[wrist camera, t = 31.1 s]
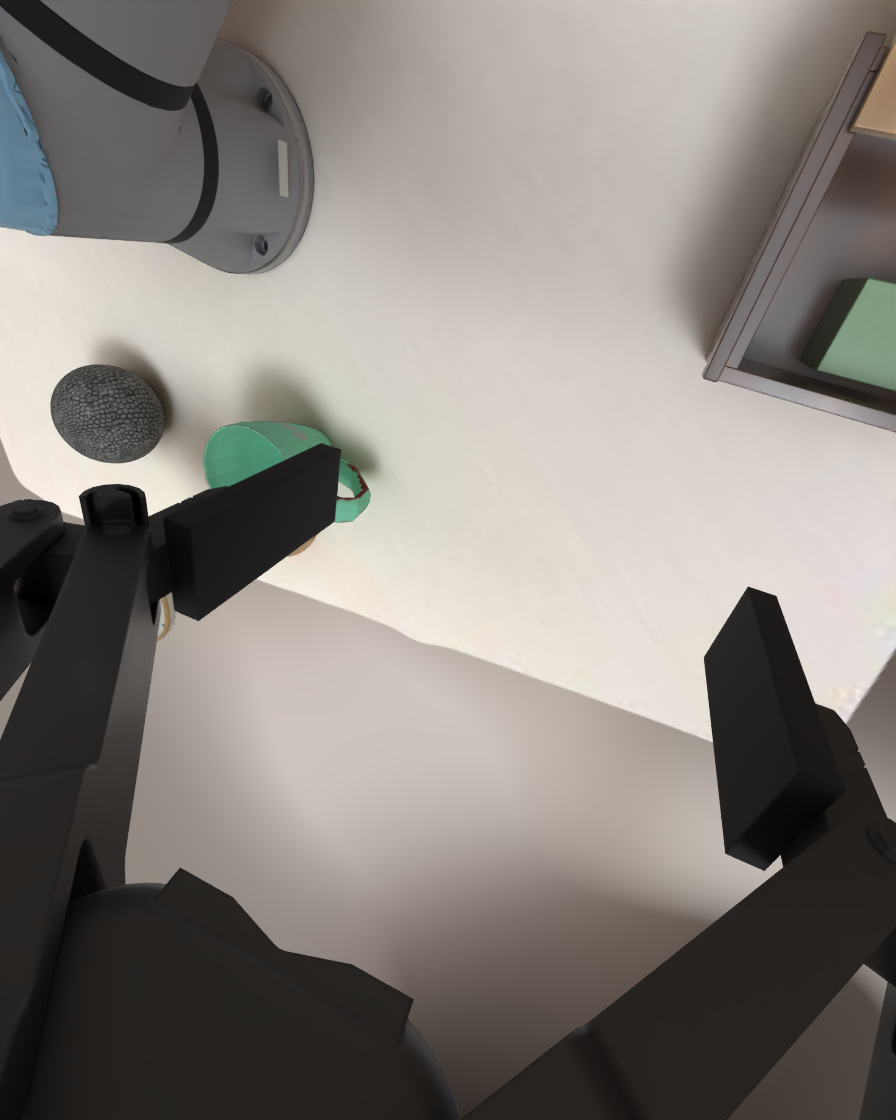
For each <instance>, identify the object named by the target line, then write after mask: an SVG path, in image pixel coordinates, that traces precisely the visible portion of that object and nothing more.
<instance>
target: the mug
mask: <svg viewBox="0 0 896 1120" xmlns="http://www.w3.org/2000/svg"><path fill="white" fill-rule="evenodd" d="M320 443H323V444H326V445H329V446H332V444H331V442H330V441H329V439H328V437H327V436H326V435H324V434H323V433H322V432H321V431H319V430H317V429H314V428H311V427H307V426H303V425H297V424H291V423H283V422H270V421H257V422H240V423H235V424H231V425H227V426H223V427H221V428H219V429H218V430H217V431H216V432H215V433H213V434H212V435H211V436H210V438H209V440H208V443H207V445H206V447H205V452H204V462H203V464H204V469H205V475H206V480H207V482H208V485H209V487H210V489H213V488H218V487H223V486H228V487H229V486H231V485H233V484H235V483H237V482H239V481H242V480H244V479H246V478H248V477H250V476H252V475H254V474H256V473H258V472H261V471H263V470H265V469H267V468H269V467H271V466H273V465H275V464H278V463H280V462H282V461H284V460H286V459H288V458H290V457H292V456H294V455H297V454H299V453H301V452H303V451H305V450H307V449H309V448H311V447H313V446H316V445H318V444H320ZM332 447H333V446H332ZM338 481H340V482H341V483H343V484H344V485H346V486H347V487H348V488H350V489H351V490H352V491H353V493H354V496H355V497H354V498H341V497H338V496H337V503H336V515H335V521H334V522H336V523H340V522H352V521H353V520H354V519H355V518H356V517H358V516H359V515H360V514H361V513H362V512H363V511H364V510H365V509H366V507H367V506H368V504H369V502H370V496H371V494H370V491H369V488H368V486H367V485H366V483H365V481H364V479H363V477H362V476H361V474H360V472H359V470H358V469H357V468H356V467H354V466H353V465H351V464H350V463H348V462H347V461H345V460H344V459H342V458H341V457H340V467H339V479H338Z"/></svg>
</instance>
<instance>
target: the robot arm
mask: <svg viewBox="0 0 896 1120" xmlns="http://www.w3.org/2000/svg"><path fill="white" fill-rule="evenodd" d="M232 2H233V0H0V227H4V228H10V229H16V230H23V231H26V232H28V233H30V234H33V235H36V236H37V235H40V236H45V235H50V236H65V237H80V238H95V239H110V240H125V241H140V242H156V243H167V244H169V245H171V246H173V247H175V248H177V249H179V250H181V251H182V252H184V253H186V254H188V255H190V256H192V257H194V258H196V259H198V260H199V261H201V262H203V263H205V264H207V265H209V266H211V267H213V268H216V269H218V270H221V271H224V272H228V273H235V274H258V273H263V272H266V271H269V270H271V269H273V268H275V267H277V266H278V265H280V264H281V263H282V262H283V261H284V260H286V259H287V258H288V256H289V255H290V254H291V253H292V252H293V250H294V249H295V248H296V246H297V244H298V243H299V241H300V239H301V237H302V235H303V233H304V230H305V227H306V225H307V222H308V218H309V214H310V209H311V204H312V195H313V164H312V155H311V150H310V144H309V140H308V136H307V132H306V129H305V126H304V123H303V120H302V117H301V115H300V112H299V110H298V108H297V106H296V103H295V101H294V99H293V98H292V96H291V94H290V92H289V91H288V89H287V88H286V86H285V85H284V83H283V82H282V81H281V79H280V78H279V77H278V76H277V74H276V73H275V72H274V71H273V70H272V69H271V68H270V67H269V66H268V65H267V64H265V63H264V62H263V61H262V60H260V59H259V58H258V57H256V56H254V55H253V54H251V53H249V52H247V51H246V50H244V49H242V48H240V47H239V46H237V45H235V44H232V43H230V42H228V41H224V40H220V39H216V38H217V36H218V33H219V31H220V29H221V27H222V24H223V22H224V20H225V18H226V15H227V13H228V11H229V8H230V6H231V4H232ZM340 456H341V449H338V448H335V447H332V446H329V445H326V444H323V443H320V444H318V445H316V446H313V447H311V448H309V449H307V450H305V451H303V452H301V453H299V454H297V455H294V456H292V457H290V458H288V459H286V460H284V461H282V462H280V463H278V464H275V465H273V466H271V467H269V468H267V469H265V470H263V471H261V472H258V473H256V474H254V475H252V476H250V477H248V478H246V479H244V480H242V481H239V482H237V483H235V484H233V485H231V486H229V487H228V486H223V487H218V488H213V489H208V490H205V491H203V492H201V493H199V494H197V495H194V496H193V498H191V497H190V498H188V499H186V500H184V501H182V502H181V504H180V503H177V504H175V505H173V506H170V507H168V508H166V509H164V510H162V511H160V512H157V513H155V514H153V515H151V516H149V517H148V511H147V504H146V497H145V493H144V492H143V491H142V490H141V489H139V488H137V487H133V486H130V485H122V484H109V485H101V486H97V487H92V488H90V489H88V490H86V491H84V492H83V493H82V494H81V495H80V496H79V499H80V504H81V508H82V513H83V518H84V522H85V526H84V525H78V524H71V523H66V522H63V518H62V515H61V510H60V508H59V506H58V505H56V504H54V503H52V502H48V501H43V500H32V499H28V500H24V501H23V500H18V501H14V502H12V503H8V504H5V505H2V506H0V701H1V700H2V698H3V697H4V696H5V695H6V693H7V692H8V691H9V689H10V688H11V687H12V686H13V684H14V683H15V682H16V681H17V679H18V678H19V677H20V676H21V674H22V673H23V672H24V671H25V669H26V668H27V667H28V666H29V664H30V663H31V665H30V667H29V670H28V672H27V675H26V677H25V680H24V682H23V685H22V687H21V690H20V692H19V695H18V698H17V700H16V703H15V705H14V707H13V710H12V712H11V715H10V717H9V720H8V722H7V725H6V727H5V730H4V732H3V735H2V737H1V740H0V1120H727V1119H728V1118H729V1117H730V1115H731V1114H732V1113H733V1112H734V1111H735V1109H737V1107H738V1106H739V1105H740V1104H741V1103H742V1102H743V1101H744V1099H745V1098H746V1097H747V1096H748V1095H749V1094H750V1092H752V1090H753V1089H754V1088H755V1087H756V1086H757V1085H758V1083H759V1082H760V1081H761V1080H762V1079H763V1078H764V1077H765V1076H766V1074H767V1073H768V1072H769V1071H770V1070H771V1069H772V1068H773V1066H774V1065H775V1064H776V1063H777V1062H778V1061H779V1060H780V1058H781V1057H782V1056H783V1055H784V1054H785V1053H786V1052H787V1050H788V1049H789V1048H790V1047H791V1046H792V1045H793V1044H794V1042H795V1041H796V1040H797V1039H798V1038H799V1037H800V1035H801V1034H802V1033H803V1032H804V1031H805V1030H806V1029H807V1028H808V1027H809V1025H810V1024H811V1023H812V1022H813V1021H814V1020H815V1019H816V1017H817V1016H818V1015H819V1014H820V1013H821V1012H822V1011H823V1009H824V1008H825V1007H826V1006H827V1005H828V1004H829V1003H830V1001H831V1000H832V999H833V998H834V997H835V995H836V994H837V993H838V992H839V991H840V990H841V989H842V988H843V987H844V985H845V984H846V983H847V982H848V981H849V980H850V978H851V977H852V976H853V975H854V974H855V973H856V972H857V971H858V969H859V968H860V967H861V966H862V965H863V964H865V965H866V966H868V967H869V968H870V969H872V970H873V971H874V972H876V973H877V974H878V975H880V976H881V977H882V978H884V979H885V980H886V981H888V983H887V988H886V993H885V998H884V1002H883V1007H882V1012H881V1017H880V1022H879V1026H878V1031H877V1036H876V1041H875V1046H874V1050H873V1056H872V1060H871V1065H870V1070H869V1074H868V1079H867V1084H866V1089H865V1094H864V1098H863V1103H862V1108H861V1113H860V1118H859V1120H896V823H895V822H894V821H892V820H891V819H888V818H887V816H886V813H885V811H884V809H883V807H882V804H881V802H880V799H879V797H878V794H877V792H876V790H875V787H874V785H873V782H872V780H871V778H870V775H869V773H868V771H867V769H866V768H864V765H865V763H864V761H863V759H862V756H861V754H860V752H858V747H857V744H856V742H855V739H854V737H853V735H852V732H851V730H850V729H849V728H848V726H847V725H846V724H845V723H844V722H843V720H842V719H841V718H840V717H839V716H838V714H837V713H836V712H835V711H834V710H832V709H829V708H826V707H824V706H821V705H818V704H816V703H815V702H814V699H813V696H812V693H811V691H810V688H809V685H808V682H807V680H806V677H805V674H804V671H803V668H802V666H801V663H800V660H799V657H798V655H797V652H796V649H795V646H794V644H793V641H792V638H791V635H790V632H789V630H788V627H787V624H786V621H785V619H784V616H783V613H782V610H781V608H780V605H779V602H778V599H777V597H776V596H775V595H772V594H769V593H766V592H763V591H760V590H757V589H754V588H751V587H747V589H746V591H745V592H744V594H743V595H742V597H741V599H740V600H739V602H738V603H737V605H736V607H735V608H734V610H733V611H732V613H731V615H730V616H729V618H728V619H727V621H726V623H725V624H724V626H723V627H722V629H721V631H720V632H719V634H718V635H717V637H716V639H715V640H714V642H713V643H712V645H711V647H710V648H709V650H708V651H707V653H706V655H705V656H704V664H705V673H706V682H707V691H708V700H709V709H710V718H711V727H712V737H713V746H714V754H715V764H716V773H717V781H718V791H719V800H720V809H721V819H722V827H723V837H724V846H725V853H726V854H727V855H730V856H732V857H734V858H736V859H739V860H741V861H743V862H746V863H748V864H750V865H752V866H754V867H757V868H759V869H762V870H764V871H765V870H766V869H767V868H768V867H769V866H770V865H771V864H772V863H773V862H774V861H775V860H776V859H777V858H778V857H779V856H780V855H781V859H782V864H783V868H782V869H781V870H779V871H778V872H777V873H776V874H774V875H773V876H772V877H771V878H769V879H768V880H767V881H766V882H764V883H763V884H762V885H761V886H759V887H758V888H757V889H755V890H754V891H753V892H752V893H750V894H749V895H748V896H747V897H746V898H744V899H743V900H742V901H741V902H739V903H738V904H737V905H735V906H734V907H733V908H732V909H730V910H729V911H728V912H727V913H725V914H724V915H723V916H722V917H720V918H719V919H718V920H717V921H715V922H714V923H713V924H712V925H710V926H709V927H708V928H706V929H705V930H704V931H703V932H701V933H700V934H699V935H698V936H696V937H695V938H694V939H693V940H691V941H690V942H689V943H688V944H686V945H685V946H684V947H683V948H681V949H680V950H679V951H678V952H676V953H675V954H674V955H673V956H671V957H670V958H669V959H668V960H666V961H665V962H664V963H663V964H661V965H660V966H659V967H657V968H656V969H655V970H654V971H652V972H651V973H650V974H649V975H647V976H646V977H645V978H644V979H642V980H641V981H640V982H639V983H637V984H636V985H635V986H634V987H632V988H631V989H630V990H629V991H627V992H626V993H625V994H624V995H623V996H621V997H620V998H619V999H617V1000H616V1001H615V1002H614V1003H612V1004H611V1005H610V1006H609V1007H607V1008H606V1009H605V1010H604V1011H602V1012H601V1013H600V1014H599V1015H597V1016H596V1017H595V1018H593V1019H592V1020H591V1021H589V1022H588V1023H587V1024H586V1025H584V1026H581V1027H579V1028H577V1029H575V1030H574V1031H572V1032H571V1033H570V1034H568V1035H567V1036H566V1037H564V1038H563V1039H562V1040H560V1041H559V1042H558V1043H556V1044H555V1045H554V1046H553V1047H551V1048H550V1049H549V1050H548V1051H546V1052H545V1053H544V1054H543V1055H541V1056H540V1057H539V1058H538V1059H536V1060H535V1061H534V1062H532V1063H531V1064H530V1065H529V1066H527V1067H526V1068H525V1069H524V1070H523V1071H521V1072H520V1073H519V1074H517V1075H516V1076H515V1077H513V1078H512V1079H511V1080H510V1081H508V1082H507V1083H506V1084H505V1085H503V1086H502V1087H501V1088H500V1089H498V1090H497V1091H496V1092H494V1093H493V1094H492V1095H491V1096H489V1097H488V1098H487V1099H486V1100H484V1101H483V1102H482V1103H481V1104H479V1105H478V1106H477V1107H476V1108H474V1109H473V1110H472V1111H471V1112H469V1113H468V1114H467V1115H465V1116H464V1117H463V1118H462V1119H461V1118H460V1115H459V1112H458V1108H457V1105H456V1102H455V1098H454V1095H453V1092H452V1089H451V1087H450V1085H449V1082H448V1080H447V1077H446V1075H445V1073H444V1070H443V1068H442V1066H441V1064H440V1063H439V1061H438V1059H437V1057H436V1055H435V1053H434V1052H433V1050H432V1048H431V1047H430V1045H429V1044H428V1043H427V1041H426V1040H425V1038H424V1037H423V1036H422V1034H421V1033H420V1031H419V1030H418V1029H417V1028H416V1027H415V1026H414V1025H413V1024H412V1023H411V1022H410V1021H409V1019H408V1015H409V1012H410V1009H411V1006H412V1003H413V1000H414V999H412V998H411V997H408V996H407V995H405V994H403V993H401V992H400V991H398V990H396V989H395V988H392V987H391V986H389V985H387V984H386V983H384V982H382V981H380V980H378V979H377V978H375V977H373V976H371V975H370V974H368V973H366V972H364V971H363V970H361V969H359V968H357V967H355V966H354V965H352V964H347V963H342V962H337V961H332V960H327V959H322V958H317V957H312V956H307V955H301V954H297V953H291V952H287V951H283V950H281V949H279V948H278V947H277V946H276V945H275V944H274V943H273V942H272V941H271V940H270V939H269V938H268V937H267V935H266V934H265V933H264V932H263V931H262V930H261V929H260V928H259V927H258V925H257V924H256V923H255V922H254V921H253V920H252V918H251V917H250V916H249V915H248V914H247V913H246V912H245V911H244V909H243V908H242V907H241V906H240V905H239V904H238V903H237V901H236V900H235V899H234V898H233V897H231V896H230V895H228V894H226V893H224V892H223V891H221V890H219V889H217V888H215V887H214V886H212V885H210V884H208V883H206V882H205V881H203V880H201V879H199V878H198V877H196V876H194V875H192V874H190V873H189V872H187V871H185V870H183V869H182V868H179V870H178V871H177V872H176V873H175V875H174V876H173V877H172V878H171V879H170V880H169V882H168V883H167V884H162V883H137V884H126V885H125V854H126V846H127V839H128V832H129V825H130V819H131V812H132V805H133V798H134V792H135V785H136V777H137V771H138V765H139V758H140V751H141V744H142V738H143V731H144V724H145V717H146V710H147V704H148V697H149V690H150V683H151V676H152V669H153V663H154V656H155V650H156V642H157V636H158V629H159V622H160V616H161V605H160V599H162V598H163V597H165V596H166V595H168V594H170V593H171V592H172V597H173V605H174V611H177V612H179V613H181V614H183V615H186V616H188V617H190V618H192V619H195V620H197V621H199V620H201V619H202V618H203V617H205V616H206V615H207V614H209V613H210V612H211V611H213V610H214V609H216V608H217V607H218V606H219V605H221V604H222V603H224V602H225V601H227V600H228V599H229V598H231V597H232V596H233V595H235V594H236V593H237V592H239V591H240V590H242V589H243V588H244V587H246V586H247V585H248V584H250V583H251V582H253V581H254V580H255V579H257V578H258V577H259V576H261V575H262V574H263V573H265V572H266V571H268V570H269V569H270V568H272V567H273V566H274V565H276V564H277V563H278V562H280V561H281V560H283V559H284V558H285V557H287V556H288V555H289V554H291V553H292V552H294V551H295V550H296V549H298V548H299V547H300V546H302V545H303V544H304V543H306V542H307V541H309V540H310V539H311V538H313V537H314V536H315V535H317V534H318V533H319V532H321V531H322V530H324V529H325V528H326V527H328V526H329V525H330V524H332V523H333V522H334V521H335V515H336V503H337V491H338V479H339V467H340Z"/></svg>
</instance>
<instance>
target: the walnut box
mask: <svg viewBox="0 0 896 1120" xmlns="http://www.w3.org/2000/svg"><path fill="white" fill-rule="evenodd" d="M885 39H886V34H884V33H877V32H870V31H869V32H866V34H865V35H864V36H863V37H862V39H861V40H860V41H859V43H858V44H857V46H856V48H855V50H854V52H853V55H852V57H851V59H850V61H849V63H848V65H847V67H846V69H845V72H844V74H843V76H842V78H841V80H840V82H839V84H838V86H837V88H836V91H835V93H834V95H833V97H832V99H831V101H830V102H829V104H828V105H827V106H826V107H825V108H824V109H823V110H822V111H821V113H820V114H819V116H818V118H817V121H816V123H815V125H814V127H813V129H812V131H811V133H810V136H809V138H808V140H807V142H806V144H805V146H804V148H803V151H802V153H801V155H800V157H799V159H798V161H797V163H796V166H795V168H794V170H793V172H792V174H791V176H790V178H789V181H788V183H787V185H786V187H785V189H784V191H783V193H782V196H781V198H780V200H779V202H778V204H777V206H776V208H775V211H774V213H773V215H772V217H771V219H770V221H769V223H768V226H767V228H766V230H765V232H764V234H763V236H762V238H761V241H760V243H759V245H758V247H757V249H756V251H755V253H754V256H753V258H752V260H751V262H750V264H749V266H748V268H747V271H746V273H745V275H744V277H743V279H742V281H741V283H740V286H739V288H738V290H737V292H736V294H735V296H734V298H733V301H732V303H731V305H730V307H729V309H728V311H727V313H726V316H725V318H724V320H723V322H722V324H721V326H720V328H719V331H718V333H717V335H716V337H715V339H714V341H713V343H712V346H711V348H710V350H709V352H708V354H707V356H706V358H705V360H706V362H707V365H706V367H705V369H704V371H703V373H702V377H703V378H704V379H706V380H710V381H713V382H717V381H722V382H725V383H729V384H732V385H736V386H739V387H742V388H746V389H749V390H753V391H756V392H760V393H763V394H766V395H770V396H773V397H777V398H780V399H783V400H787V401H790V402H794V403H797V404H801V405H804V406H807V407H811V408H814V409H818V410H821V411H825V412H828V413H831V414H835V415H838V416H842V417H845V418H849V419H852V420H855V421H859V422H862V423H866V424H869V425H873V426H876V427H879V428H883V429H886V430H890V431H893V432H896V392H895V391H891V390H887V389H884V388H880V387H876V386H872V385H868V384H865V383H861V382H857V381H853V380H849V379H846V378H842V377H838V376H834V375H830V374H827V373H823V372H819V371H816V370H814V369H812V368H811V367H809V366H807V365H805V364H803V363H802V362H800V361H799V359H800V357H801V355H802V354H803V352H804V350H805V348H806V346H807V344H808V343H809V341H810V339H811V337H812V335H813V333H814V332H815V330H816V328H817V326H818V324H819V322H820V321H821V319H822V317H823V315H824V313H825V311H826V310H827V308H828V306H829V304H830V302H831V300H832V299H833V297H834V295H835V293H836V291H837V289H838V288H839V286H840V284H841V282H842V280H843V279H854V278H874V279H879V280H883V281H888V282H892V283H896V140H894V139H888V138H883V137H878V136H872V135H867V134H862V133H856V132H851V131H849V127H850V125H851V123H852V121H853V119H854V117H855V115H856V113H857V111H858V109H859V107H860V105H861V103H862V101H863V99H864V97H865V95H866V93H867V91H868V89H869V87H870V85H871V83H872V81H873V79H874V77H875V75H876V73H877V71H878V69H879V67H880V65H881V63H882V61H883V59H884V57H885V55H886V53H887V51H888V48H889V47H885V46H882V45H883V43H884V41H885Z"/></svg>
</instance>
